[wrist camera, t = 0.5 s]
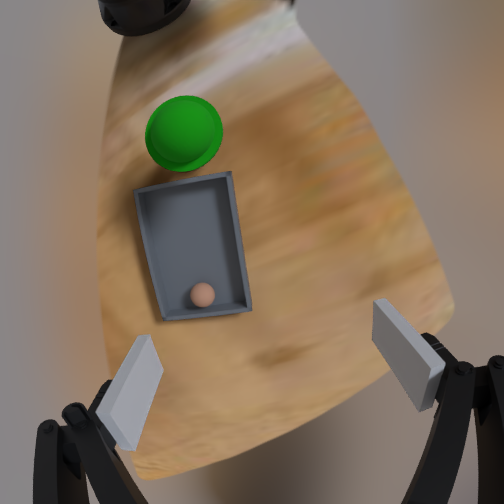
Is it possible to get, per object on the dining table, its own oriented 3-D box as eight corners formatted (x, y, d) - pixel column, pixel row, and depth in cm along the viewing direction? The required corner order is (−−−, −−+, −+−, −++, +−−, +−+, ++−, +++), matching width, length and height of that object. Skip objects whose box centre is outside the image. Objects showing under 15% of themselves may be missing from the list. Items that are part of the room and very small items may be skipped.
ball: (190, 280, 42) (185, 289, 38) (213, 277, 42) (210, 286, 38) (195, 302, 43) (191, 312, 39) (218, 299, 42) (215, 309, 39)
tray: (141, 188, 39) (133, 189, 36) (231, 171, 38) (230, 171, 35) (168, 311, 44) (163, 321, 41) (251, 301, 43) (252, 310, 40)
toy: (169, 170, 38) (128, 168, 24) (178, 116, 36) (141, 86, 22) (225, 175, 39) (212, 175, 24) (233, 120, 37) (225, 89, 22)
